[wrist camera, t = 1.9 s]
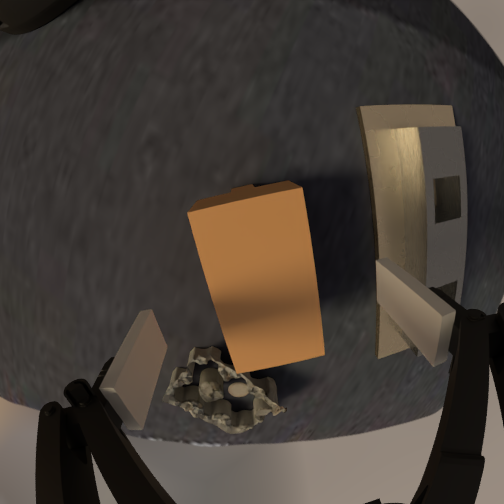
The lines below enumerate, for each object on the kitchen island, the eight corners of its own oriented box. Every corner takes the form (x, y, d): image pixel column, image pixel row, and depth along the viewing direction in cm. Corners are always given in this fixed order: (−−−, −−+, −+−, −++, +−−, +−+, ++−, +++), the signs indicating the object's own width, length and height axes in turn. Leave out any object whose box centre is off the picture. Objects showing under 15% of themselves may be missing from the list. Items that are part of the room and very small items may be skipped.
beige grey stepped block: (355, 107, 19) (381, 99, 15) (446, 106, 19) (477, 103, 15) (375, 354, 27) (391, 380, 23) (447, 326, 27) (467, 346, 23)
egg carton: (287, 383, 28) (293, 412, 24) (240, 417, 30) (242, 444, 26) (205, 332, 25) (201, 361, 22) (162, 375, 27) (155, 403, 23)
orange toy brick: (202, 194, 21) (187, 212, 15) (281, 176, 21) (302, 187, 14) (235, 319, 25) (236, 373, 18) (303, 304, 25) (324, 354, 18)
